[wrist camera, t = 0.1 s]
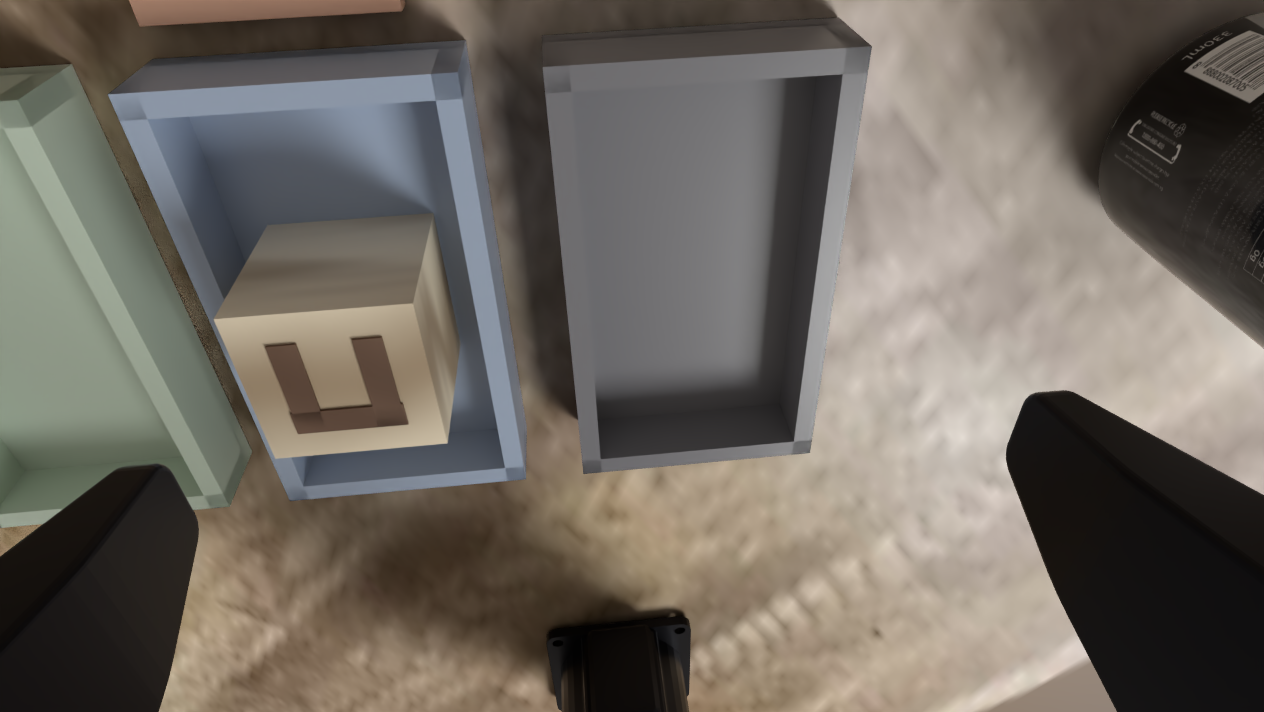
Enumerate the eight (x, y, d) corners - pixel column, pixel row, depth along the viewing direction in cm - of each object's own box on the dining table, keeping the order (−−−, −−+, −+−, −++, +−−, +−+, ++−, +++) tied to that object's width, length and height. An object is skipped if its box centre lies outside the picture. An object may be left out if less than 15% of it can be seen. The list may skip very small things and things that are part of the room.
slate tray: (526, 427, 28) (525, 479, 26) (307, 446, 27) (290, 500, 25) (465, 40, 19) (457, 72, 17) (152, 58, 19) (107, 94, 17)
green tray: (252, 451, 27) (230, 506, 25) (24, 471, 27) (-17, 529, 25) (71, 63, 19) (17, 100, 17) (-261, 84, 18) (-356, 123, 16)
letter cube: (460, 342, 24) (447, 445, 21) (313, 355, 24) (274, 461, 20) (433, 212, 22) (412, 304, 18) (267, 225, 21) (212, 320, 18)
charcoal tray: (790, 403, 28) (809, 452, 26) (580, 422, 28) (583, 473, 26) (838, 17, 20) (871, 46, 18) (541, 35, 20) (542, 66, 18)
